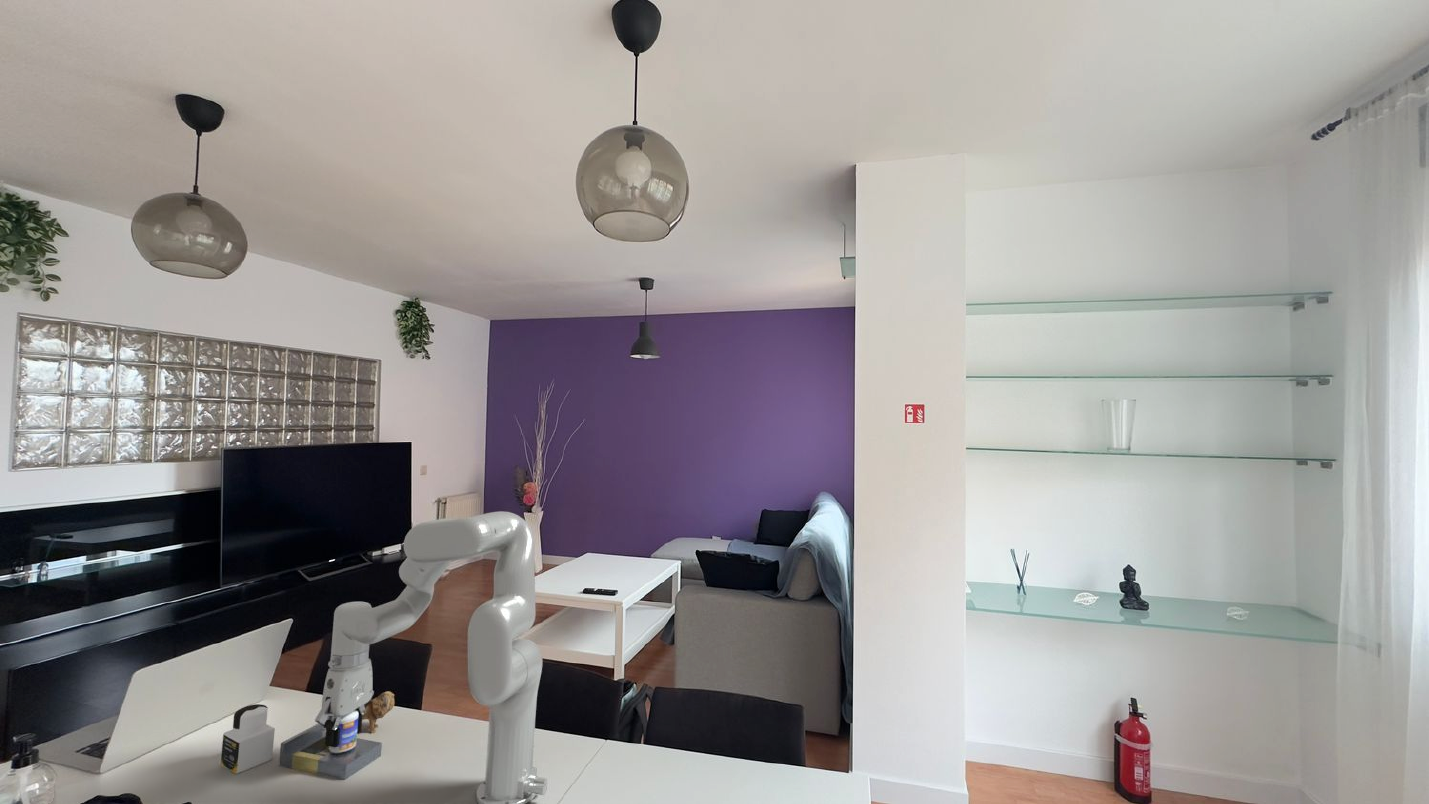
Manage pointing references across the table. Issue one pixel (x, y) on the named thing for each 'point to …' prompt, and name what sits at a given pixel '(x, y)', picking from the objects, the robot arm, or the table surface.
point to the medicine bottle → (248, 740)
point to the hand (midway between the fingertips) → (343, 738)
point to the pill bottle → (347, 732)
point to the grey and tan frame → (339, 765)
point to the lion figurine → (378, 709)
